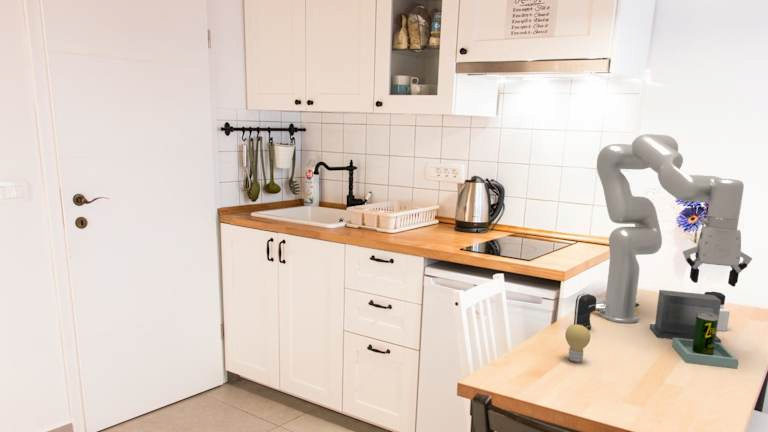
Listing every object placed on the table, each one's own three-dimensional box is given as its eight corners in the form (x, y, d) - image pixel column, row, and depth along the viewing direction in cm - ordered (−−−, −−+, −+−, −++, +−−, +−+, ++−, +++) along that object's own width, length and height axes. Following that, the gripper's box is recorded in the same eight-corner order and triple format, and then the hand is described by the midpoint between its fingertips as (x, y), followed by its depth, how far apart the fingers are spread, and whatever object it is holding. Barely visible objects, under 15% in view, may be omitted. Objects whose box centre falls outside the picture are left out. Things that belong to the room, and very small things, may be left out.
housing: (657, 337, 173) (662, 295, 171) (649, 328, 182) (654, 288, 180) (720, 344, 170) (726, 302, 168) (709, 334, 179) (715, 294, 177)
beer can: (687, 351, 161) (692, 311, 160) (701, 350, 163) (706, 310, 161) (703, 358, 156) (708, 317, 154) (717, 357, 158) (723, 316, 156)
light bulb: (558, 357, 154) (561, 322, 152) (575, 354, 156) (579, 320, 155) (574, 366, 148) (578, 330, 146) (592, 363, 150) (596, 328, 149)
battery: (583, 333, 173) (586, 298, 172) (572, 330, 176) (575, 295, 175) (595, 329, 178) (598, 295, 176) (584, 326, 181) (588, 292, 179)
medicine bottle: (727, 331, 183) (732, 296, 181) (705, 330, 183) (710, 295, 181) (714, 324, 190) (719, 290, 188) (693, 323, 190) (698, 289, 188)
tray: (685, 362, 154) (686, 353, 154) (671, 345, 167) (672, 337, 167) (737, 368, 152) (738, 359, 152) (719, 351, 165) (720, 342, 164)
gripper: (692, 223, 152) (683, 283, 154) (762, 228, 148) (752, 290, 151) (683, 219, 159) (675, 276, 162) (750, 224, 156) (740, 283, 158)
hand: (712, 283), depth 156 cm, fingers open, 9 cm apart
